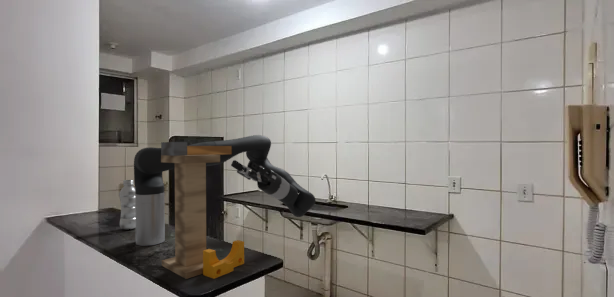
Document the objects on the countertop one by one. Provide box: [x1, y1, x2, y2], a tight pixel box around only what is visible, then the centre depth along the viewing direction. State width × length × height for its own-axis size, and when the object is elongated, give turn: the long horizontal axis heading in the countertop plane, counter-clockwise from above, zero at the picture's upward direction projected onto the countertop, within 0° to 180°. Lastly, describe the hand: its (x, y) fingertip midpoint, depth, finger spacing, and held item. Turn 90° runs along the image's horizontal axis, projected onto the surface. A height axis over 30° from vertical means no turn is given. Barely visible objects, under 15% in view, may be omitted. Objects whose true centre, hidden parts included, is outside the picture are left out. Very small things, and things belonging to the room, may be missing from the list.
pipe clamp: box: [202, 239, 245, 279], centre depth 88 cm, size 12×4×6 cm, turn 144°
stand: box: [161, 155, 220, 280], centre depth 90 cm, size 14×10×31 cm
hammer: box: [160, 141, 231, 156], centre depth 93 cm, size 8×19×4 cm, turn 136°
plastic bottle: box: [118, 179, 136, 231], centre depth 133 cm, size 6×7×20 cm
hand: (240, 163), depth 103 cm, fingers open, 8 cm apart
